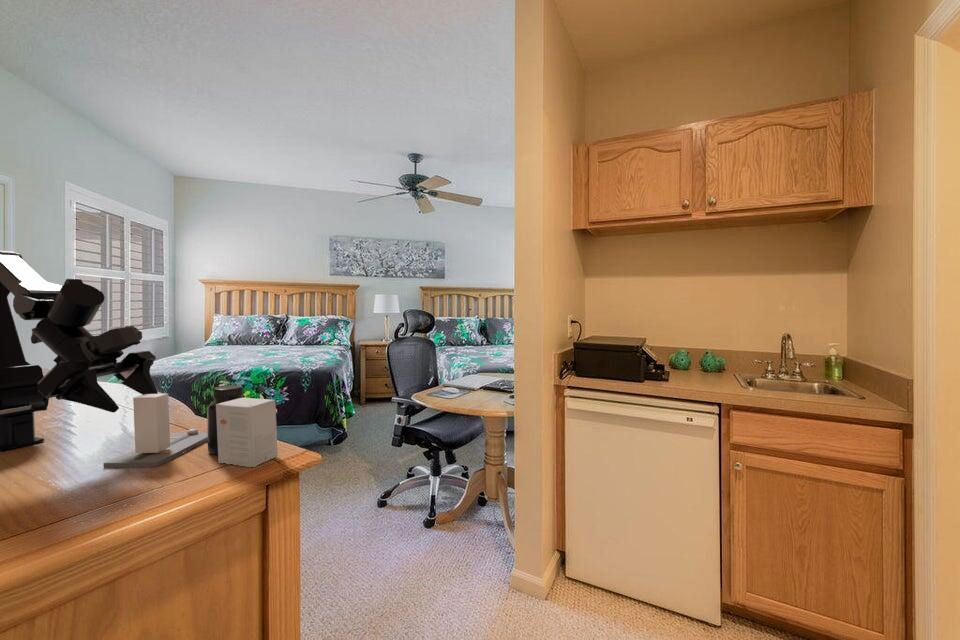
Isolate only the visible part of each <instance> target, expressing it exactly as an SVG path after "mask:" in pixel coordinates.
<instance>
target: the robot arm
mask: <svg viewBox="0 0 960 640" xmlns="http://www.w3.org/2000/svg"><path fill="white" fill-rule="evenodd" d="M23 258H24V257H23V256H22V254H21V253H19V252H16V251H14V250H13V251H12V250H0V452H2V451H8V450H12V449H16V448H20V447H25V446H28V445H33V444H38V443H41V442H44V441H45V438H43V437H38V436H36V431H35V429H36V428H35V427H36V426H35V425H36V424H35V412H41V411H42V412H43V411H44V412H45V411H47V410H48V406H49V400H50V399H52V398H55V399H56V400H58V401H61V400H65V401H67V402H73V403H77V404H81V405H86V406H87V407H88V406H89V407H93V408H96V409H99V410H103V411H106V412H109V413H117V411H119V409H120V407H119V405H118V404H117V403H116V401H115V400H114V399H113V398H112V397H111V396H110V394H108V393H107V391H106V390H105V389H103V387H102V386H101V385H100V384H99V382H98V378H102V377H106V376H107V377H109V376H113V377H115V378H116V379H117V380H119V381H122V382H121V384H122V385H124V386H126V387H128V388H129V389H131V390H132V391H135V392H136V393H138V394H141V395H144V394H159V392H158V391H157V388H156V385H155V384H154V381H153V379H152V375H151V367H152V366H153V365H154V362H155V361H156V360H157V357H156V355H154V354H153V353H152V352H151V351H150V350H142V351H141V350H140V351H133V352H129V353H128V354H126V356H125V357H123V359H122V360H121V361H118V360H117V359H118V358H121V357H122V356H123V354H125V352H124V350H126V349H128V348H130V347H133V346H136V345H139V344H140V343H141V340H142V339H143V331H140V330H139V329H138V328H137V327H135V326H134V325H125V326H124V327H117V328H112V329H109V330H107V331H105V332H102V333H101V334H99V335H93V334H92V333H91V332H90V331H89V330H87V328H85V327H86V326H88V325H90V324H91V323H92V321H93V320H94V318H95V316H96V314H98V313H97V312H98V311H99V309H101V306H102V305H103V303H104V302H105V298H106V297H105V295H104V293H103V292H102V291H101V290H100V289H98V288H96V287H95V286H92V285H90V284H87V283H84V282H83V280H82V279H81V278H66V279H65V281H64V283H63V285H60V284H57V283H53V282H48V281H47V280H45V279H44V278H43V277H42V276H41V275H40V274H39V273H37V272H36V271H35V270H34V269H33V268H32V267H31V266H30V265H28V263H27V262H26V261H24V259H23ZM10 294H12V295H13V296H14V297H13V298H12V299H13V300H12V308H13V310H14V312H15V313H16V314H17V315H18V316H19V317H20V318H21V319H22V320H24V321H38V322H37V324H36V326H35V327H33V328H31V336H30V342H31V344H33V345H35V344H39V343H43V344H44V345H45V346H46V347H48V348H49V349H50V350H51V351H52V352H53V354H55V355H56V357H55V358H54V359H53V362H54V363H56V364H55V365H54V366H53V367H52V368H51V369H50V370H49V371H48V372H47V373H46V374H45V375H44V373H43V368H42V367H41V366H40V365H39V364H31V363H29V362H28V361H27V360H26V357H25V354H24V351H23V348H22V347H23V346H22V343H21V340H20V337H19V333H18V330H17V327H16V323H15V320H14V315H13V313H12V309H11V305H10V303H9V299H8V298H9V297H8V296H9V295H10Z"/></svg>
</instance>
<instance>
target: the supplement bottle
mask: <svg viewBox="0 0 960 640" xmlns="http://www.w3.org/2000/svg"><path fill="white" fill-rule="evenodd" d="M243 392H244V387H243V385H237V384H234V385H232V384H230V385H221V386H216V387H214V388H213V395H212V398H213V399H214V400H213V401H212V402H211V403H210V404H209V405H208V406H207V411H206V415H207V417H206V419H207V420H206V421H207V423H206V425H207V428H206V429H207V431H206V432H208V441H207V451H208V453H209V454H211V455H212V456H218V441H217V419H216V404H219V403H223V402H227V401H231V400H235V399H239V398H243V396H244V393H243Z"/></svg>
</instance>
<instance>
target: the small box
mask: <svg viewBox="0 0 960 640" xmlns="http://www.w3.org/2000/svg"><path fill="white" fill-rule="evenodd" d="M276 411H277V408H276V399H268V398H267V399H266V398H265V399H264V398H254V397H253V398H252V397H242V398H239V399H235V400H231V401H227V402H223V403H219V404H216V419H217V441H218V455H217V458H218V460H217V461H218V463H219V462H220V463H219V464H223V463H228V464H227V465H230V464H233V465H232V466H237V465H238V466H240V467H244V466H245V468H251V467H253V468H255V467H258V466H260V465H261V463H262V464H264V463H266V462H269V461H271V460H273V459H274V458H277V457H278V451H279V450H278V436H277V435H278V433H277V429H278V428H277V412H276ZM270 459H271V460H270ZM265 461H266V462H265ZM263 462H264V463H263ZM259 464H260V465H259ZM257 465H258V466H257Z"/></svg>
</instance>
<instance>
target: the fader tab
mask: <svg viewBox="0 0 960 640" xmlns="http://www.w3.org/2000/svg"><path fill="white" fill-rule="evenodd" d="M132 399H133V401H132V402H133V404H132V405H133V424H134V425H133V426H134V427H133V428H134V450H135V453H158V452H160V451H163V450H165V449H167V448H169V447H170V434H171V431H170V405H169V393H158V394H144V395H142V394H141V395H137V396H134V397H132Z"/></svg>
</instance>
